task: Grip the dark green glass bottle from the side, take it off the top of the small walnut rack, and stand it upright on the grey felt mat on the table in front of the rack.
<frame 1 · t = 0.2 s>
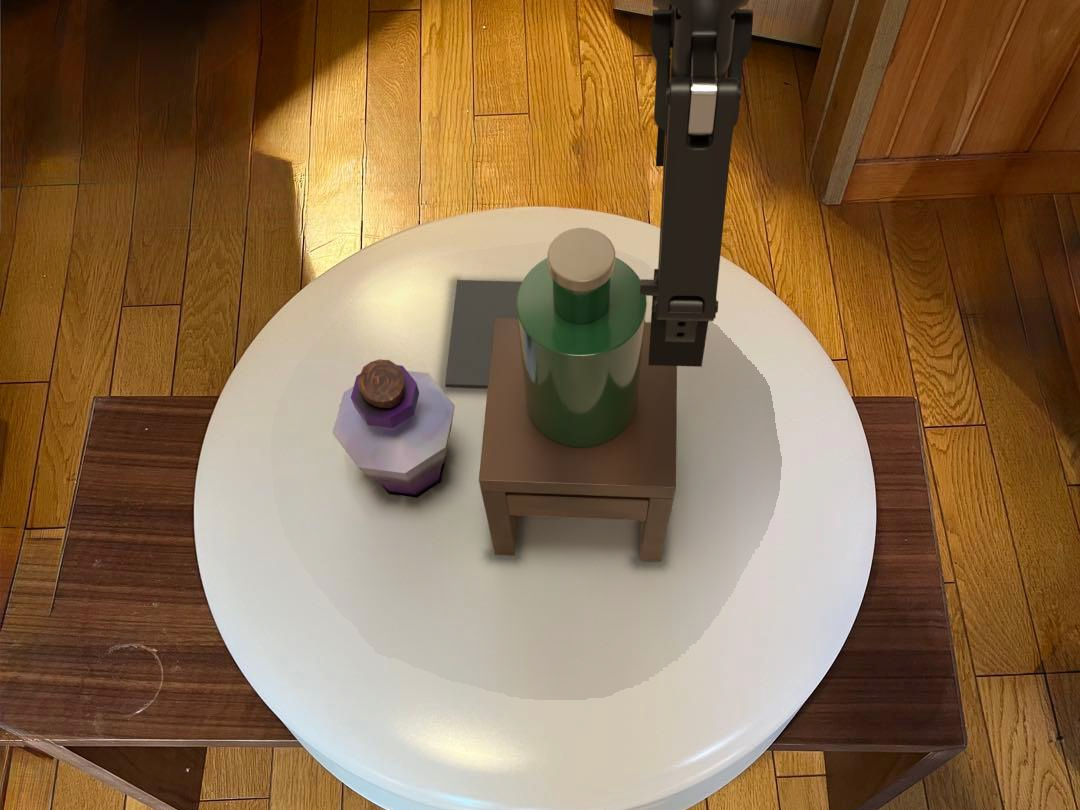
hand: (677, 256, 52), 22 cm above the table, tool pointing down, fingers open, 13 cm apart
potion bottle: (410, 466, 73), on the table
walnut rack: (581, 483, 72), on the table
felt mat: (513, 335, 77), on the table
green bottle: (581, 399, 61), point 12 cm above the table, touching walnut rack
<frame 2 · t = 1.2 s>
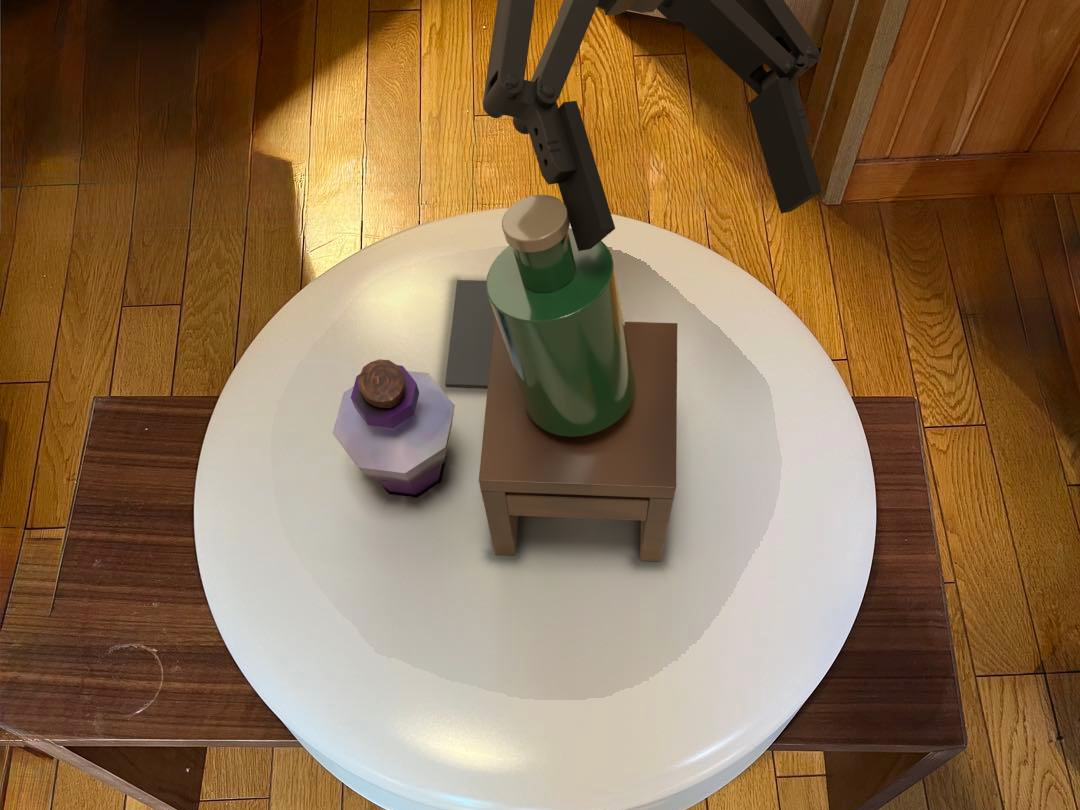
hand: (704, 221, 51), 24 cm above the table, tool tilted 65°, fingers open, 13 cm apart
green bottle: (579, 392, 60), point 13 cm above the table, tilted 13°, touching walnut rack
everything else where it was.
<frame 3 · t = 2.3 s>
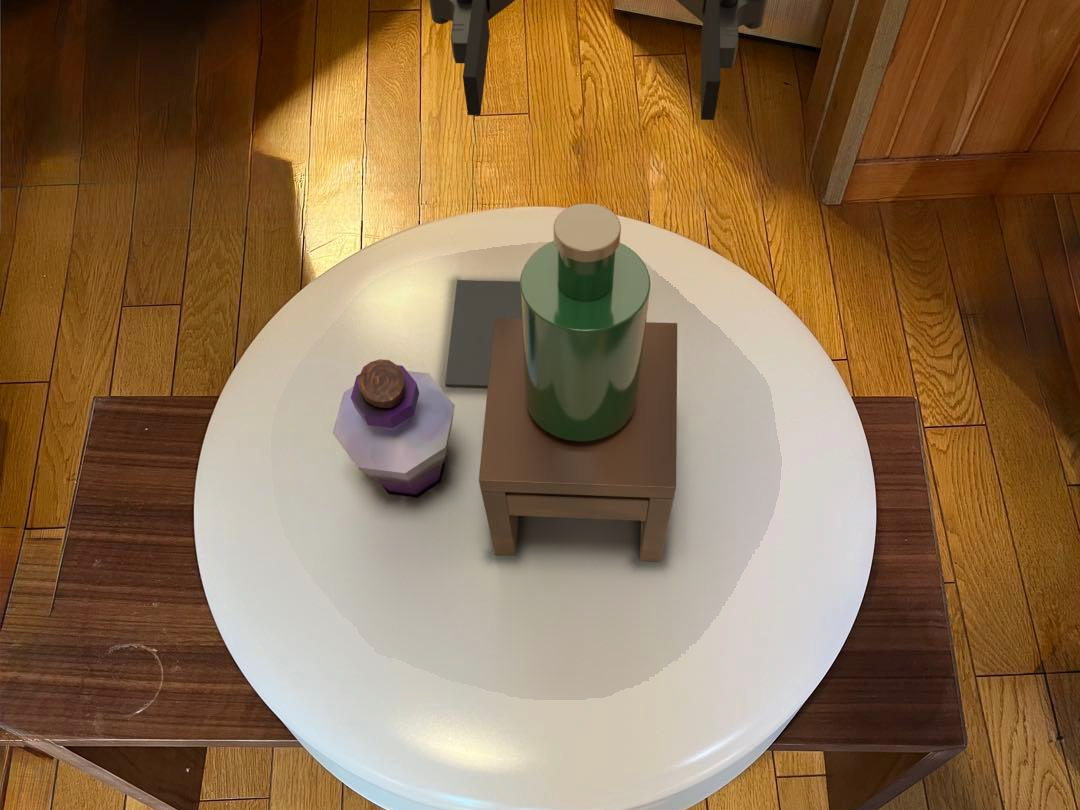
hand: (590, 99, 55), 24 cm above the table, tool horizontal, fingers open, 13 cm apart
green bottle: (580, 395, 61), point 12 cm above the table, tilted 6°, touching walnut rack
everything else where it was.
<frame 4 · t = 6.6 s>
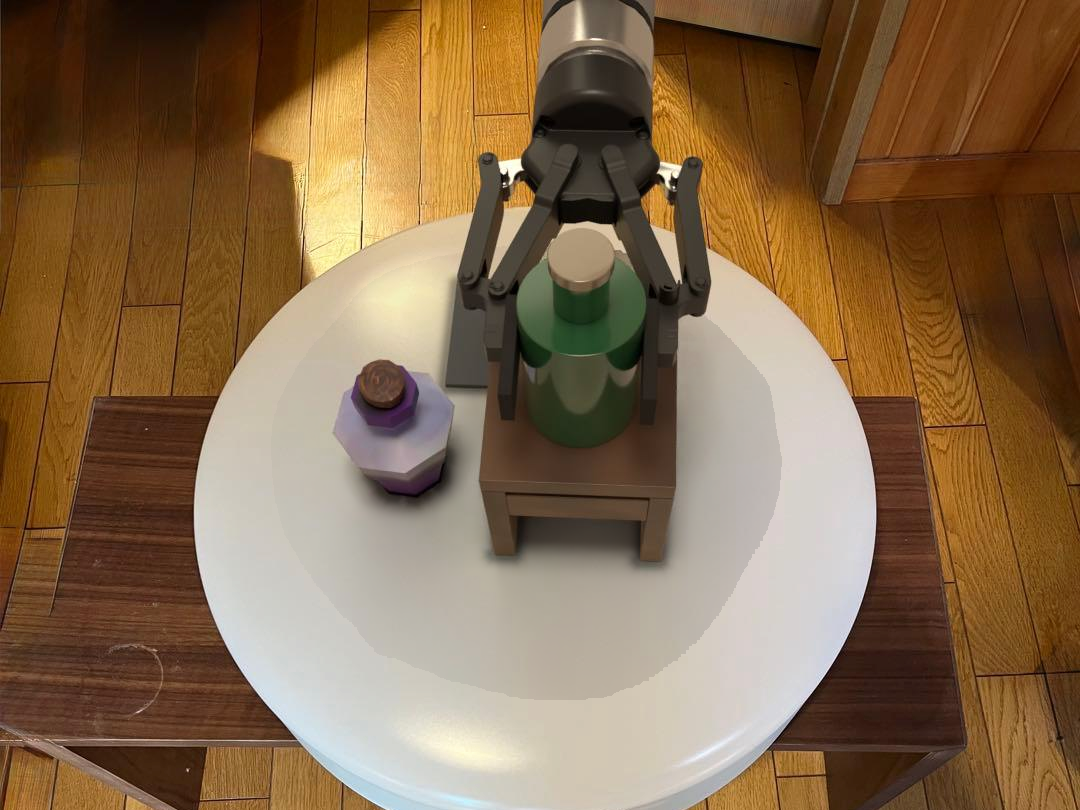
hand: (576, 409, 53), 19 cm above the table, tool horizontal, fingers closed on green bottle, 7 cm apart
green bottle: (580, 399, 61), point 12 cm above the table, touching gripper, walnut rack
everything else where it was.
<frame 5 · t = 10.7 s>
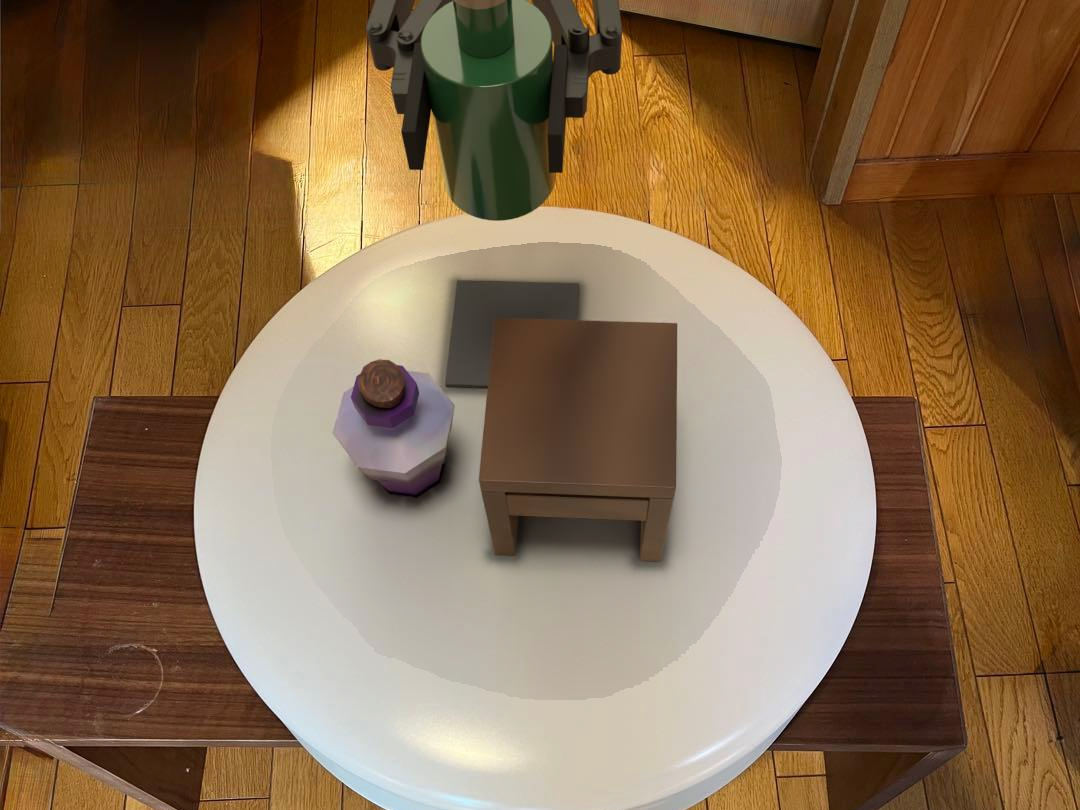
hand: (483, 152, 52), 25 cm above the table, tool horizontal, fingers closed on green bottle, 7 cm apart
green bottle: (500, 176, 60), point 18 cm above the table, touching gripper
everything else where it was.
when the fingers open (7 cm above the table, at t = 14.9 s): green bottle stays where it is, resting on felt mat.
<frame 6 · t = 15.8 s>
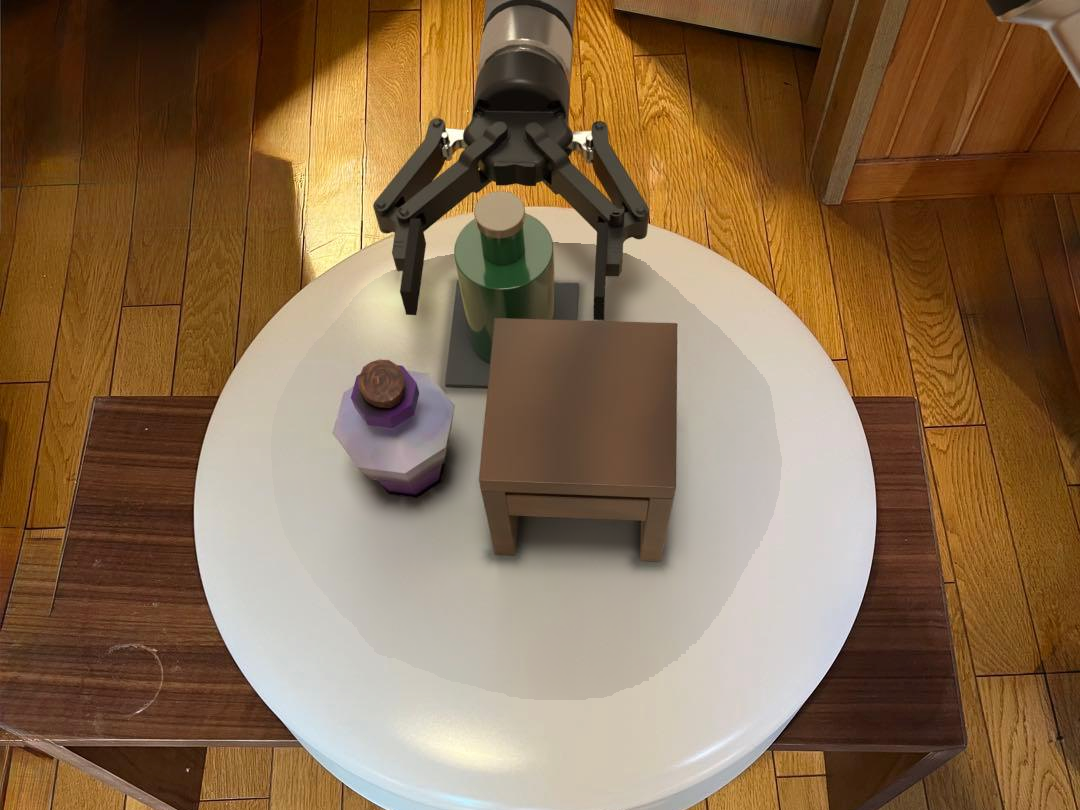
hand: (503, 306, 69), 8 cm above the table, tool horizontal, fingers open, 13 cm apart
green bottle: (512, 332, 77), resting on felt mat
everything else where it was.
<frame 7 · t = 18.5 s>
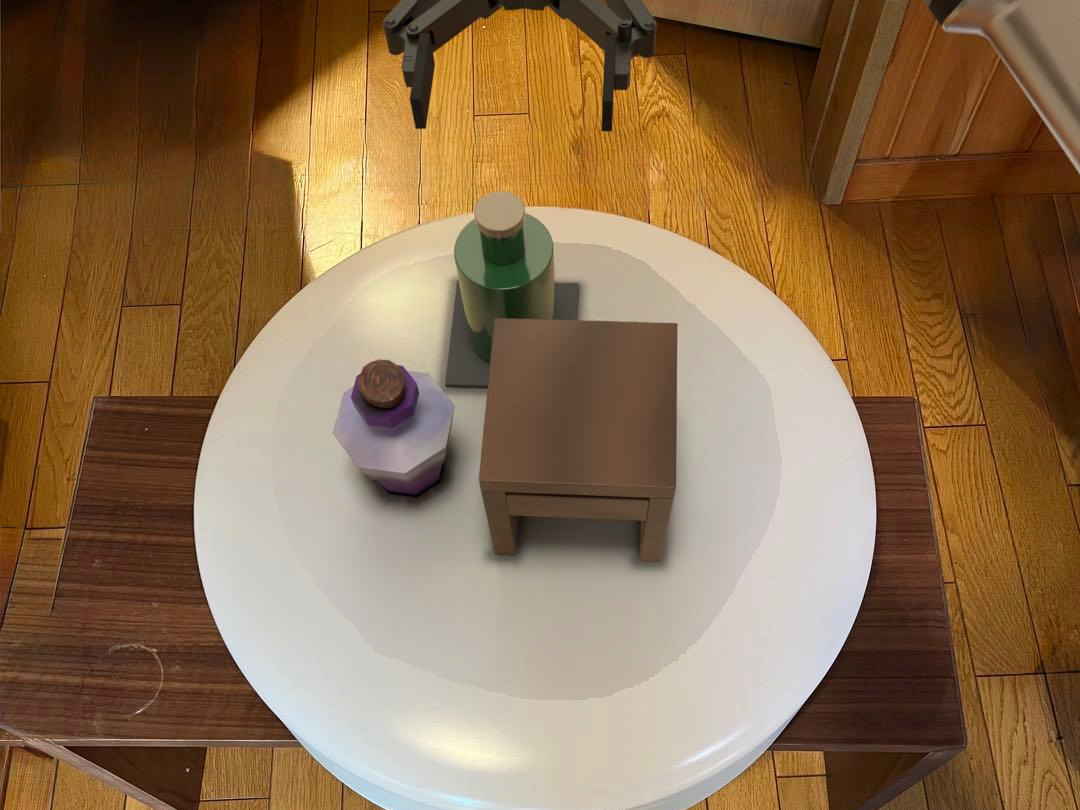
hand: (511, 115, 69), 13 cm above the table, tool horizontal, fingers open, 13 cm apart
nothing on the table moved.
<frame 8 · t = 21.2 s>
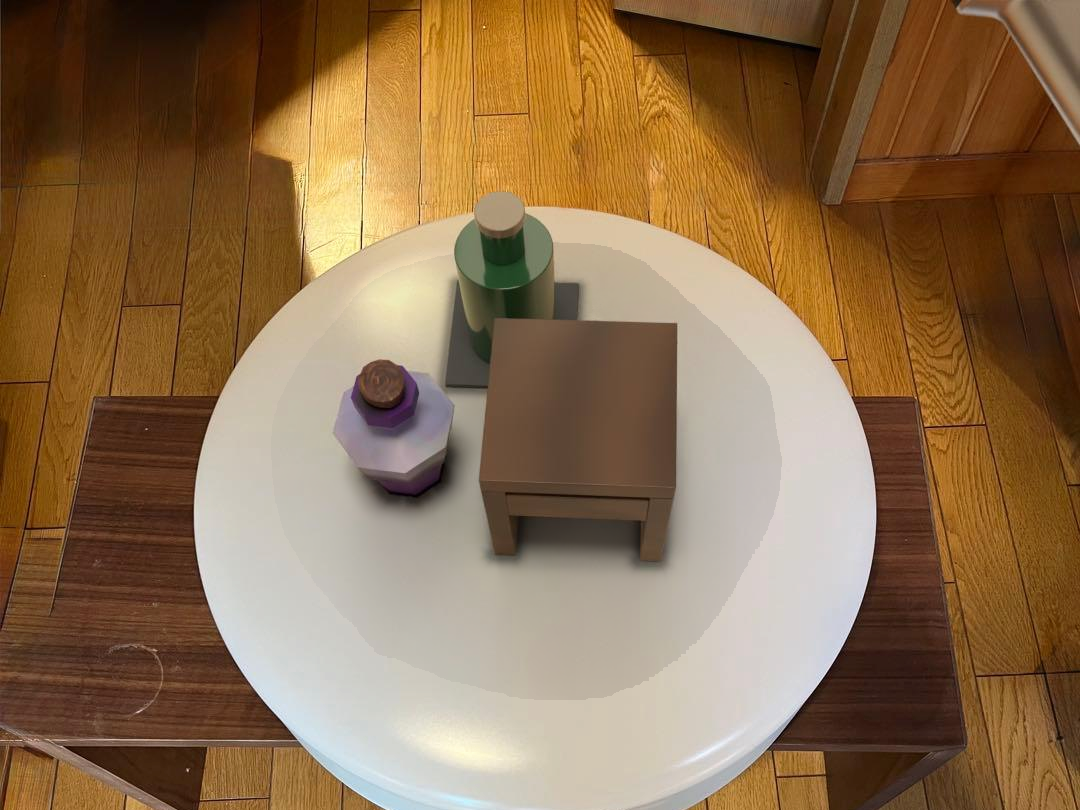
nothing on the table moved.
at the end: green bottle inside the target area on the felt mat (0.0 cm from its centre), point 0.4 cm above the felt mat's base; green bottle tilted 0°; green bottle touching felt mat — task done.
